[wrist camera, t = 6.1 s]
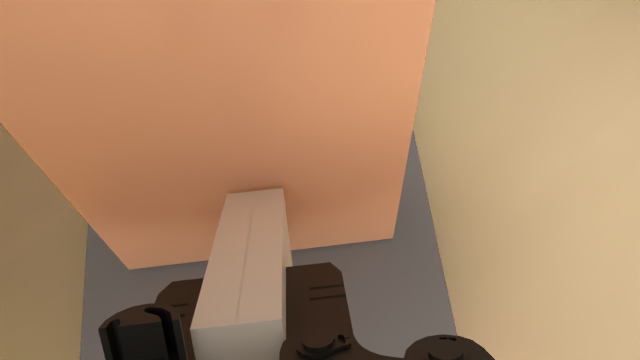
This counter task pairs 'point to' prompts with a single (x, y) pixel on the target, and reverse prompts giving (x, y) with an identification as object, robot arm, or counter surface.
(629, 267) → the counter surface
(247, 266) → the robot arm
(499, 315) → the counter surface
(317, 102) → the peach box
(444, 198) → the counter surface
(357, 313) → the mat
